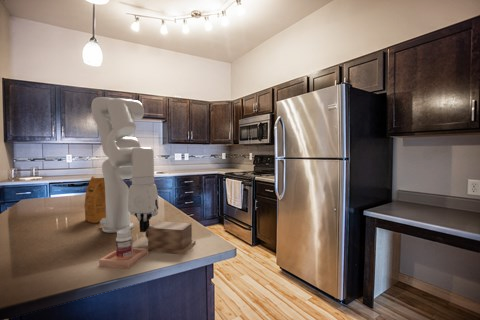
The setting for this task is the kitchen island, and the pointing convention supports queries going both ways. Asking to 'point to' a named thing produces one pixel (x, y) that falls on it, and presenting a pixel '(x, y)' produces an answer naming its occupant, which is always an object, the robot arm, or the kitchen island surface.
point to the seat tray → (112, 261)
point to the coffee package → (95, 200)
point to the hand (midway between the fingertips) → (144, 230)
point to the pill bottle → (124, 244)
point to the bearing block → (167, 238)
